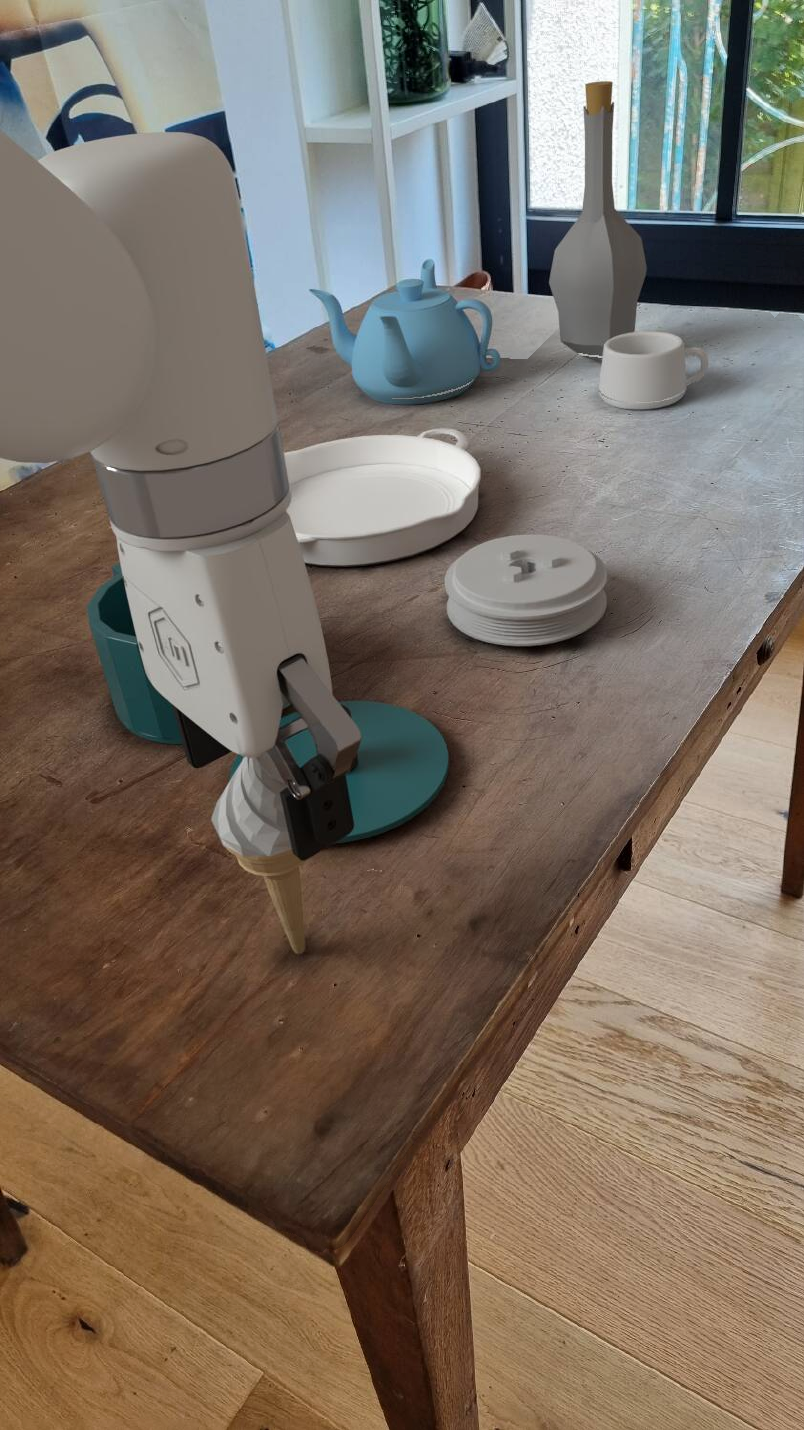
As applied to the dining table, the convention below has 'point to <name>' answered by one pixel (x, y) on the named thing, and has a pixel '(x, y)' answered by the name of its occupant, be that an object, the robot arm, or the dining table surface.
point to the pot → (128, 665)
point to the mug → (646, 369)
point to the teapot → (413, 342)
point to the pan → (380, 496)
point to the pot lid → (383, 765)
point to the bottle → (597, 247)
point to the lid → (526, 590)
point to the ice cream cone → (263, 838)
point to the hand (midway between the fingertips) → (268, 796)
